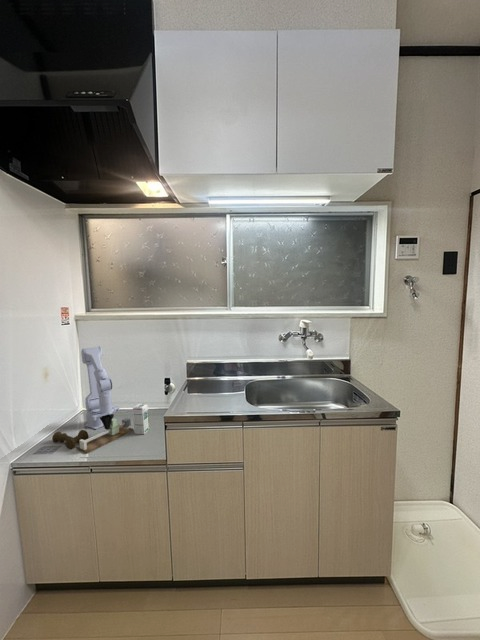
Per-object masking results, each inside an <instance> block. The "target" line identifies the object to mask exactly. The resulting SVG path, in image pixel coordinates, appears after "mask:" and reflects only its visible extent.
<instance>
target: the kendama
mask: <svg viewBox="0 0 480 640" xmlns="http://www.w3.org/2000/svg"><path fill="white" fill-rule="evenodd" d="M89 438H90V437H89V432H88V431H86V430H85V429H81V430H79V432H78V434H77V435H76V436H70V435H68V434H67V433H66V432H63V433H62V432H61V431H59V430H58V431H55V432H54V434H53V435H52V441H53V443H58V442H60V443H65V447H66V449H68V450H73V449H76V448H75V447H76V445H77V444H78V443H79V444H80V441H79V440H81V439H83V440H86V439H89Z"/></svg>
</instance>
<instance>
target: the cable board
mask: <svg viewBox="0 0 480 640" xmlns="http://www.w3.org/2000/svg"><path fill="white" fill-rule="evenodd" d="M132 432H134V428H132V427H129V428H128V429H125V428H124V427H123V426H121V427H120V428H119V433H117V434H114V435H111V434H108V433H106V434H104V435H102V436H100V437H97V438H95V439H93V440H91V441H89V442H87V449H86V450H83V449H81V448H80V445H79V446H77V447H76V446H75V447H76V448H75V449H76V450H77V451H79V452H81V453H83V454H89V453H91V452H93V451H95V450H97V449H99V448H101V447H104V446H105V445H107V444H109V443H111V442H114V441H115V440H117V439H119V438H122V437H123V436H126V435H127V434H129V433H132Z"/></svg>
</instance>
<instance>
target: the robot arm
mask: <svg viewBox="0 0 480 640" xmlns="http://www.w3.org/2000/svg"><path fill="white" fill-rule="evenodd" d="M103 356H104V354H103V348H102V346H96V347H88V348H87V347H86V348H82V349H81V361H82V364H85V365H86V369H87V375H88V384H89V385H88V386H89V392H90V393H88V394H87V396H86V397H85V400H84V401H85V409H86V414H85V417H86V418H85V419H86V421H85V422H86V424H84V425H85V427H88V428H91V429H94V430H97V429H100V428H102V427H104V430H108V429H110V424H111V421H112V418H114V413H115V412H119V411H120V409H121V408H120V406H114V407H113V403H112V389H113V381H112V379H111V377H109V376H108V373H107V369H106V368H104V367H103V365H102V357H103Z"/></svg>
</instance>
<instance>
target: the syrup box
mask: <svg viewBox="0 0 480 640" xmlns="http://www.w3.org/2000/svg"><path fill="white" fill-rule="evenodd" d="M132 412H133V414H132V417H133V432H134V434H136V435H137V434H138V435H145V434H146V433H147V432H148V431H150V420H149V419H150V418H149V416H150V415H149V405H148V403H137V404H136V405H135V406H132Z"/></svg>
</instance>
